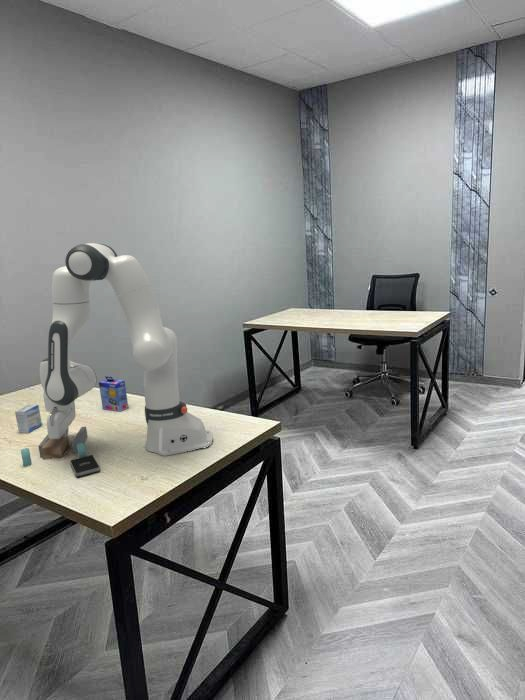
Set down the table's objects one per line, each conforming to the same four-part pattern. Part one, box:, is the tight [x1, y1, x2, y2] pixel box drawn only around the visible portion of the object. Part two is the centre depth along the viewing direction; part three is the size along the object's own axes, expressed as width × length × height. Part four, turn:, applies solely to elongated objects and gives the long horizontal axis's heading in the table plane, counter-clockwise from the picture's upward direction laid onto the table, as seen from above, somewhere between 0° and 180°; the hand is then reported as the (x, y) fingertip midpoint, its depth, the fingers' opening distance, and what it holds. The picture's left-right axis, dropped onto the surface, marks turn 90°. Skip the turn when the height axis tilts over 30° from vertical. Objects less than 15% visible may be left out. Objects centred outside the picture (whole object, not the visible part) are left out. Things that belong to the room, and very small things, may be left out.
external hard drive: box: [69, 454, 101, 479], centre depth 148 cm, size 7×11×2 cm, turn 31°
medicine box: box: [14, 404, 43, 434], centre depth 182 cm, size 8×4×9 cm, turn 168°
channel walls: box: [37, 426, 88, 458], centre depth 164 cm, size 12×14×4 cm
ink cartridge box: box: [98, 375, 129, 413], centre depth 199 cm, size 10×6×14 cm, turn 64°
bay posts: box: [20, 442, 87, 467], centre depth 153 cm, size 19×2×5 cm, turn 98°
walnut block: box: [41, 436, 71, 460], centre depth 160 cm, size 6×8×4 cm
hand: (65, 441), depth 165 cm, fingers closed
